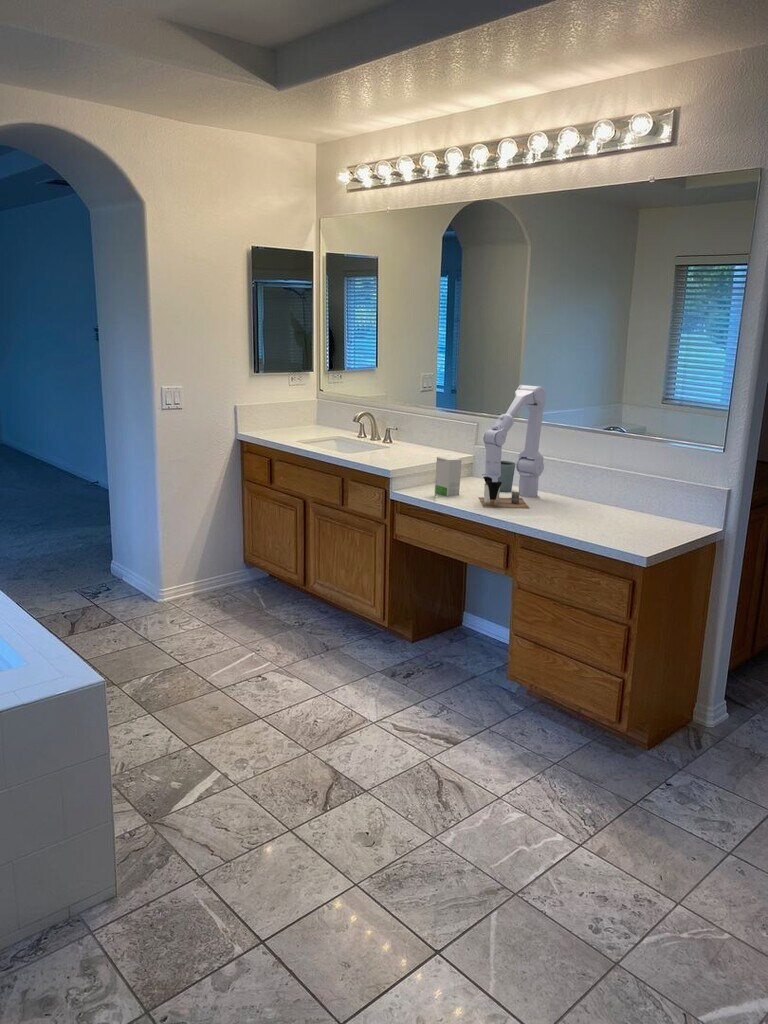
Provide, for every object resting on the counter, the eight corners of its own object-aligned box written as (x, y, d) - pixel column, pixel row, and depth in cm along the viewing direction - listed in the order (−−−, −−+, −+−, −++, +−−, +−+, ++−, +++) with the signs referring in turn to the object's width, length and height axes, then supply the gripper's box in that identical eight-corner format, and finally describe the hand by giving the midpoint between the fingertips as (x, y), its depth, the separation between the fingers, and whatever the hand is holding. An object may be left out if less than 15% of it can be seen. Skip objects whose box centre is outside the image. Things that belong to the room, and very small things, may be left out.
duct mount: (478, 499, 312) (478, 487, 311) (521, 500, 312) (522, 487, 311) (483, 510, 295) (484, 497, 294) (529, 511, 295) (530, 497, 294)
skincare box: (434, 495, 319) (435, 456, 316) (446, 493, 323) (447, 455, 320) (448, 499, 313) (449, 459, 309) (460, 497, 317) (462, 458, 313)
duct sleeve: (483, 500, 306) (483, 482, 304) (497, 501, 306) (498, 483, 304) (484, 504, 301) (485, 485, 299) (499, 504, 301) (500, 485, 299)
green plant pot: (485, 489, 332) (486, 460, 329) (507, 488, 335) (508, 459, 332) (495, 494, 323) (497, 465, 320) (518, 493, 326) (519, 464, 323)
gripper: (480, 458, 307) (478, 493, 310) (484, 464, 293) (483, 501, 296) (498, 458, 307) (497, 493, 310) (504, 465, 293) (502, 501, 296)
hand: (491, 497), depth 303 cm, fingers open, 7 cm apart
